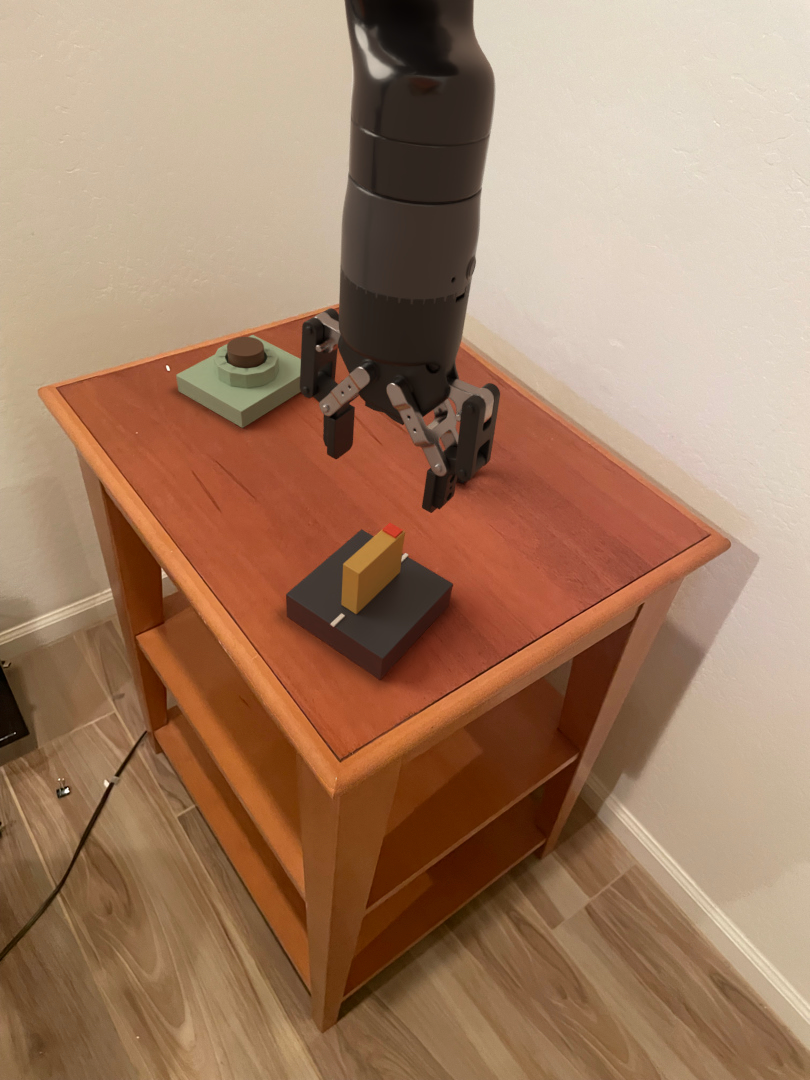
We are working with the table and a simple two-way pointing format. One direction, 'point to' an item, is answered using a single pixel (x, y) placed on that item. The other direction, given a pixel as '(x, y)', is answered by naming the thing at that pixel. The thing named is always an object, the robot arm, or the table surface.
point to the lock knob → (372, 568)
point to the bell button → (245, 352)
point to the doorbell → (242, 384)
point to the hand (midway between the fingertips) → (385, 478)
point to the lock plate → (369, 609)
